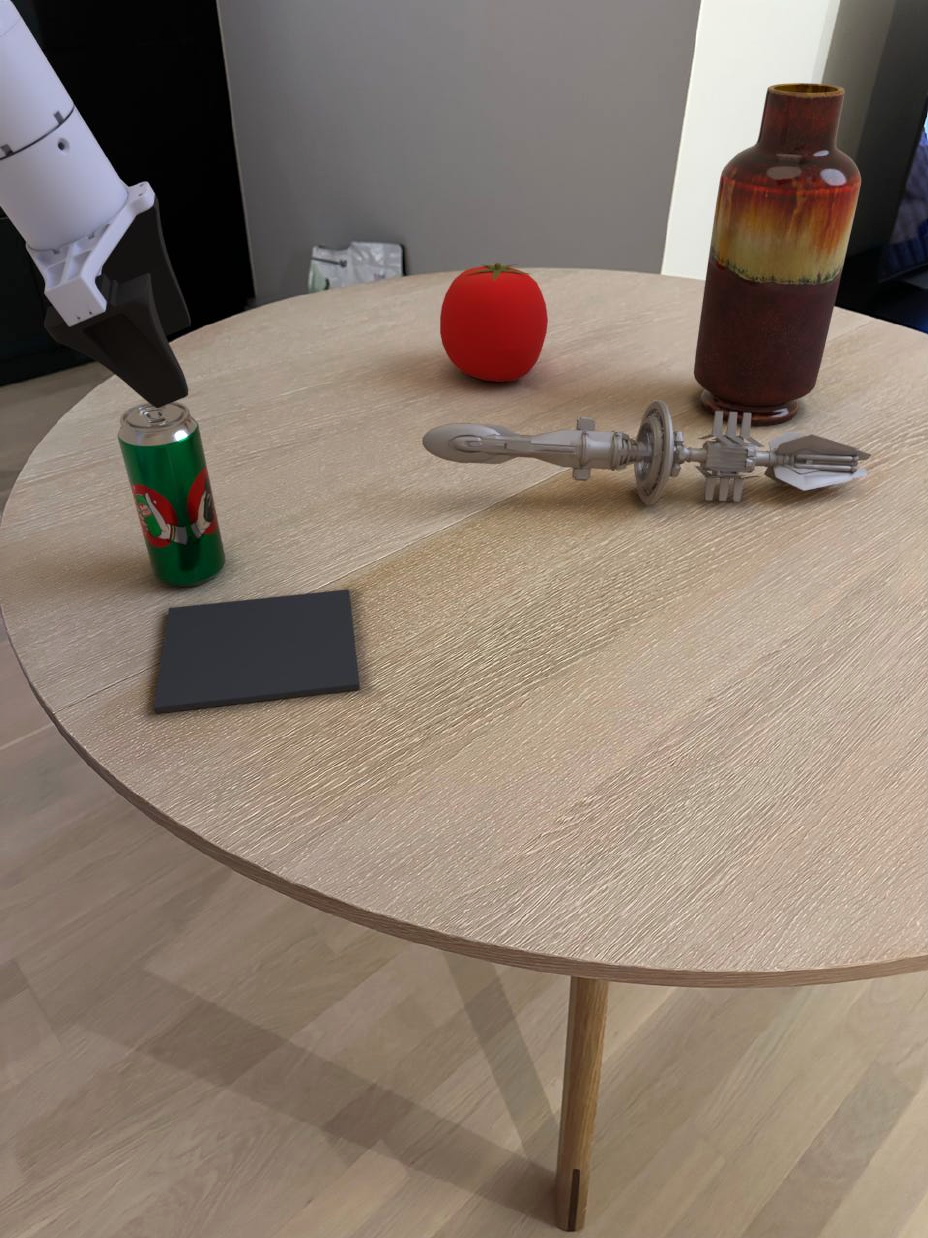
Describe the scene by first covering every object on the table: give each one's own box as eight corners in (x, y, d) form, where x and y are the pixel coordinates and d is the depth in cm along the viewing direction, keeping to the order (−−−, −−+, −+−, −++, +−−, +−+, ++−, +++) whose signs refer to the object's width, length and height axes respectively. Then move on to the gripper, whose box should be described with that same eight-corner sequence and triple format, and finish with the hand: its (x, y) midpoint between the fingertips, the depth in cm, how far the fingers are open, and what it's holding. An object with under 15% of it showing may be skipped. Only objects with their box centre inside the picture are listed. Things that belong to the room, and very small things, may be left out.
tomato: (488, 404, 88) (488, 289, 82) (422, 372, 95) (417, 263, 88) (568, 376, 93) (574, 266, 87) (500, 347, 100) (501, 242, 94)
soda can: (217, 545, 69) (185, 392, 62) (234, 579, 65) (203, 421, 58) (148, 562, 67) (107, 407, 60) (162, 598, 64) (120, 438, 56)
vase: (756, 374, 93) (811, 74, 77) (836, 415, 85) (915, 91, 69) (665, 395, 89) (703, 84, 74) (739, 440, 81) (799, 103, 66)
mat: (155, 714, 54) (153, 707, 54) (170, 613, 62) (168, 607, 62) (359, 689, 56) (359, 683, 55) (349, 594, 64) (348, 588, 63)
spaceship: (422, 385, 72) (428, 386, 64) (848, 410, 76) (902, 414, 68) (417, 487, 74) (422, 500, 66) (833, 507, 78) (883, 521, 70)
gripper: (81, 157, 39) (238, 407, 49) (107, 51, 49) (234, 277, 59) (-65, 222, 40) (119, 455, 50) (-10, 105, 50) (134, 319, 60)
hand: (174, 362), depth 54 cm, fingers open, 7 cm apart
